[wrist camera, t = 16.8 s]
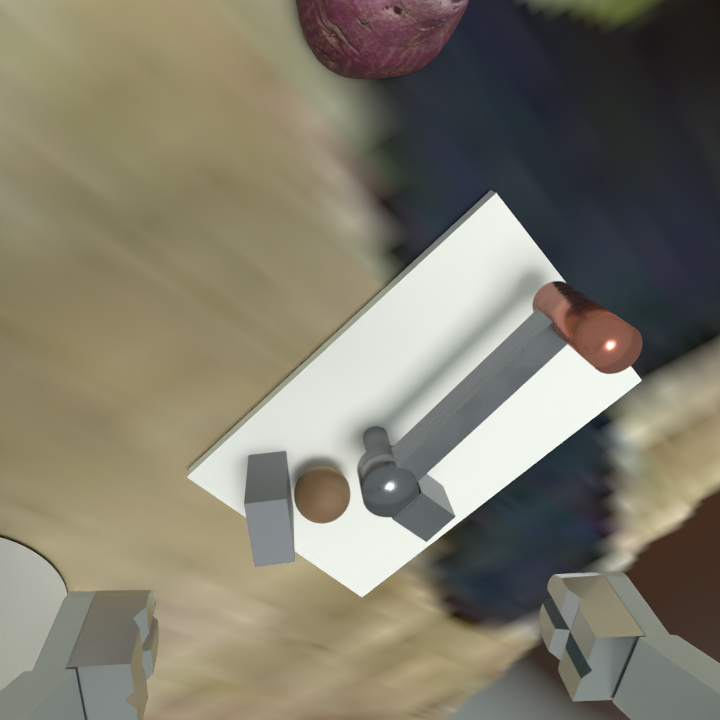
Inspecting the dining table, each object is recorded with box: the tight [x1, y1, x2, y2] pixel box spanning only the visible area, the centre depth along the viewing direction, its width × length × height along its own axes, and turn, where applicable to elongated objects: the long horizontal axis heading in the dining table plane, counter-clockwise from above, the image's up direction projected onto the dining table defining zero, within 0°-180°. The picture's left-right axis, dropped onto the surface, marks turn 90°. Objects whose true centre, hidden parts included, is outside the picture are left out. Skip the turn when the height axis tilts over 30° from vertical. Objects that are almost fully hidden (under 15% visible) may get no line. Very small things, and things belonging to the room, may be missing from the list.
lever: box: [357, 281, 642, 542], centre depth 37 cm, size 20×7×8 cm, turn 137°
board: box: [187, 190, 642, 597], centre depth 44 cm, size 32×21×7 cm, turn 132°
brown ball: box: [294, 466, 350, 524], centre depth 45 cm, size 4×4×4 cm
